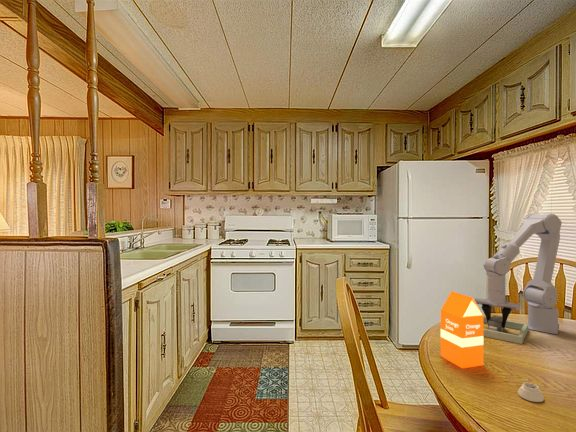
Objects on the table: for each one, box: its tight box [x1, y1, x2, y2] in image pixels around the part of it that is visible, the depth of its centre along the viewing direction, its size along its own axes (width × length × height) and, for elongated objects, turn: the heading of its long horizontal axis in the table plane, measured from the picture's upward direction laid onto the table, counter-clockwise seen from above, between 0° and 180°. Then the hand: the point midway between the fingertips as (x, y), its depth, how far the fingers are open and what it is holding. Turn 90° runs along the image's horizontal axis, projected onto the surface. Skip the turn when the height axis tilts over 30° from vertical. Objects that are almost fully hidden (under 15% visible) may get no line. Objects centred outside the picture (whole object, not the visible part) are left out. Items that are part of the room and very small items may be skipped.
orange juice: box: [440, 291, 485, 369], centre depth 101 cm, size 8×9×20 cm
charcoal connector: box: [487, 314, 505, 332], centre depth 125 cm, size 4×13×4 cm, turn 139°
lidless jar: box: [517, 382, 545, 403], centre depth 80 cm, size 5×3×5 cm
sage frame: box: [483, 315, 529, 345], centre depth 126 cm, size 18×18×2 cm
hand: (496, 326), depth 126 cm, fingers closed on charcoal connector, 4 cm apart
